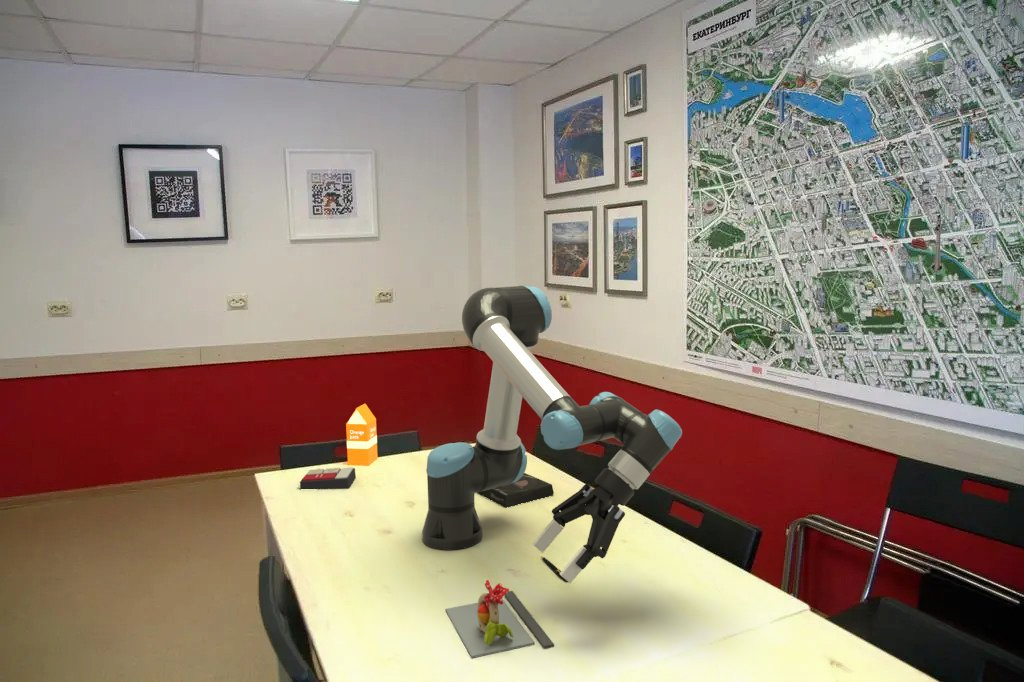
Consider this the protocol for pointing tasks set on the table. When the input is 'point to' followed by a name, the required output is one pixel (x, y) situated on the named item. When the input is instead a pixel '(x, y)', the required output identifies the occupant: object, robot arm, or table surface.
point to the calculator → (328, 478)
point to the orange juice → (361, 437)
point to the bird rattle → (492, 613)
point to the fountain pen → (553, 568)
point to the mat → (474, 638)
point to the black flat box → (519, 491)
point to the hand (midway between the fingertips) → (550, 563)
